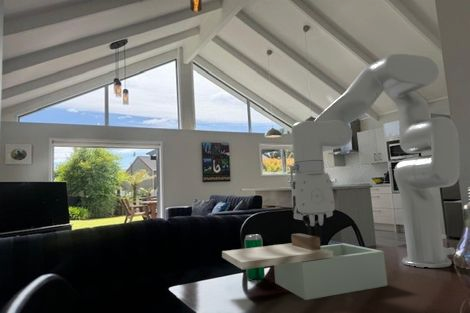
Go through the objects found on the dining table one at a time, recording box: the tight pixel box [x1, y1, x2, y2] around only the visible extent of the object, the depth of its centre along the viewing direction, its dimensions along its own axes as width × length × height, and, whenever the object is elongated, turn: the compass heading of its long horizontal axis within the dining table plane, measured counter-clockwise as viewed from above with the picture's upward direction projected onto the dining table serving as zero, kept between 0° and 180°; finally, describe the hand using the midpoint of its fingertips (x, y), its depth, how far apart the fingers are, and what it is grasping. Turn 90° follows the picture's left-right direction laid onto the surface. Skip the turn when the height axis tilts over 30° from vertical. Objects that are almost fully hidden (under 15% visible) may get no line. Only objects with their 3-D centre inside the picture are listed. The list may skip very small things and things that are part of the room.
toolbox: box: [273, 242, 388, 301], centre depth 84 cm, size 22×16×8 cm
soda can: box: [244, 233, 266, 281], centre depth 94 cm, size 5×5×12 cm
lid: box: [221, 233, 333, 271], centre depth 80 cm, size 22×16×4 cm
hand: (315, 241), depth 84 cm, fingers closed
